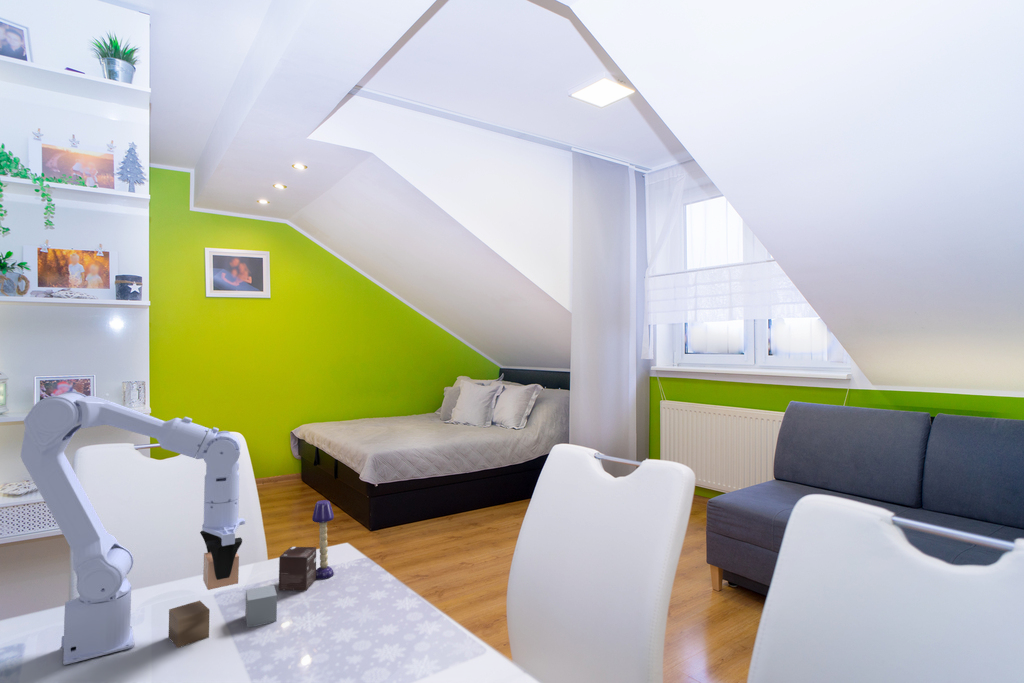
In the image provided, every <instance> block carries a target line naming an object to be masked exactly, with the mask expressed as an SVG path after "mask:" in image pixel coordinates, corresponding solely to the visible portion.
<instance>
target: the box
mask: <svg viewBox="0 0 1024 683" xmlns="http://www.w3.org/2000/svg"><path fill="white" fill-rule="evenodd" d="M278 565H279V566H278V591H292V592H293V591H295V592H296V591H299V592H303V591H304V592H305V591H307V590H309V588H311V586H312V585H313V584H314V583H315V581H316V580H317V579H316V570H317V546H316V547H315V546H290V547H289V548H288V549H286V550H285V551H284V552H283V553H282V554H281V555H280V556H279V561H278Z"/></svg>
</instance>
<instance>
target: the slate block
mask: <svg viewBox="0 0 1024 683" xmlns="http://www.w3.org/2000/svg"><path fill="white" fill-rule="evenodd" d="M277 604H278V594H277V591H276V588H275V584H272V585H267V586H266V585H265V586H261V587H260V586H259V587H256V588H250V589H245V610H244V611H245V616H244V617H245V622H246V627H247V628H252V627H256V626H260V625H265V624H270V623H274V622H277V616H278V614H277V613H278V612H277V610H278V609H277V608H278V605H277Z"/></svg>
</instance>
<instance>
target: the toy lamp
mask: <svg viewBox="0 0 1024 683" xmlns="http://www.w3.org/2000/svg"><path fill="white" fill-rule="evenodd" d="M334 517H335V515H334V512H333V508H332V504H331V502H330V501H329V500H327V499H325V500H318V501H317V502H316V503H315V506H314V510H313V514H312V517H311V518H312V519H311V520H312V522H314V523H318V525H319V530H318V531H319V543H318V545H319V554H320V555H319V560H320V562H319V567H318V568H316V580H325V579H326V580H327V579H330V578H331V577H333V576H334V574H335V573H334V570H333V568H332V567H331V566H329V562H328V558H329V554H328V551H329V550H328V533H327V532H328V527H327V526H328V522H330V521H333V520H334V519H335V518H334Z"/></svg>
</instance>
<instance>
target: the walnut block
mask: <svg viewBox="0 0 1024 683" xmlns="http://www.w3.org/2000/svg"><path fill="white" fill-rule="evenodd" d="M207 638H208V639H209V638H210V608H209V607H208V606H206V605H205V604H204V603H203V602H202V600H197V601H193V602H189V603H186V604H183V605H179V606H175V607H173V608H170V609H168V639H169V640H170V639H171V640H172V641H173V642H172V641H171V642H172V643H173V644H174V646H175V645H176V646H175V647H176V648H177V649H179V648H182V647H184V646H188V645H191V644H193V643H196V642H199V641H202V640H205V639H207ZM181 646H182V647H181Z"/></svg>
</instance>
